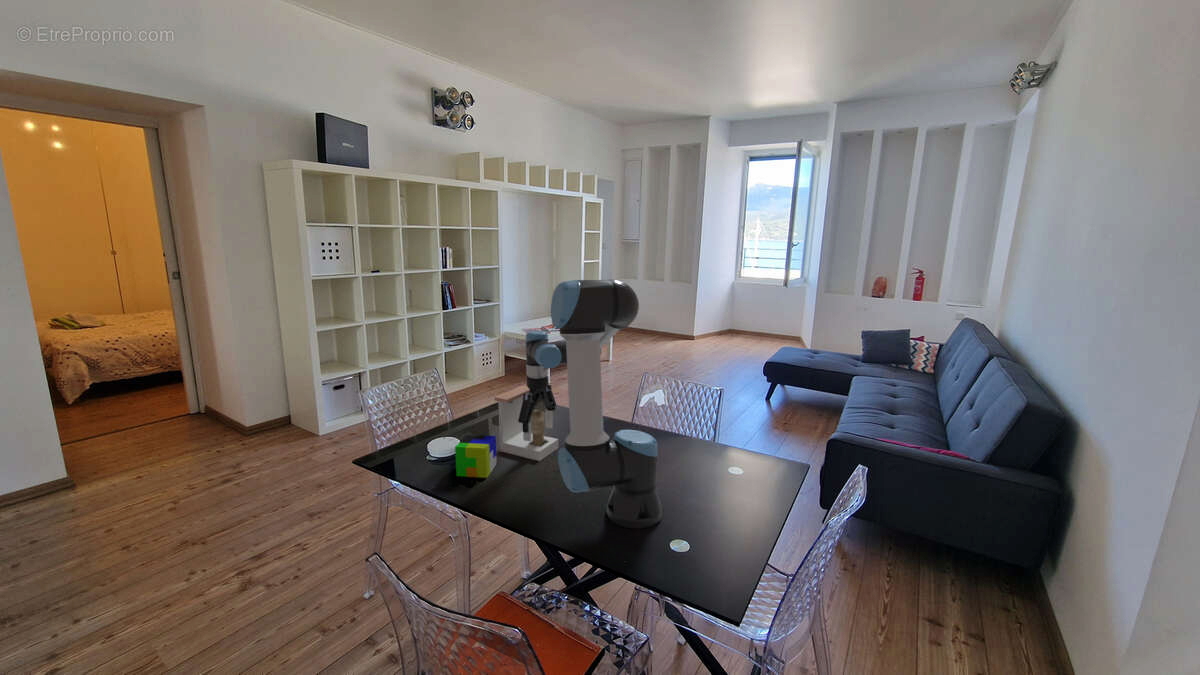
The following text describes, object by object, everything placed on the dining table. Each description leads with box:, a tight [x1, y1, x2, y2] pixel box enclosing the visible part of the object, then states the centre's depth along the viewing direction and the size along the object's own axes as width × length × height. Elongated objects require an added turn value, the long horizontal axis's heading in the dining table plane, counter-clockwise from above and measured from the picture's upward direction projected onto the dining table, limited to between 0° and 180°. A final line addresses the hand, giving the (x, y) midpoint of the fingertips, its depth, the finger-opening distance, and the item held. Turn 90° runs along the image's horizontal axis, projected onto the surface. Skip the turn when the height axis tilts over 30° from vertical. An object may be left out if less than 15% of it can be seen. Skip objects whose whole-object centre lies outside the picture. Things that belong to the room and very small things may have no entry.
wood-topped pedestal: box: [494, 385, 530, 443], centre depth 177 cm, size 16×6×17 cm, turn 153°
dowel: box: [531, 409, 545, 447], centre depth 173 cm, size 4×4×15 cm
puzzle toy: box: [454, 434, 497, 479], centre depth 160 cm, size 10×10×10 cm
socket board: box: [499, 432, 559, 462], centre depth 176 cm, size 12×17×4 cm
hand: (538, 433), depth 173 cm, fingers open, 13 cm apart
